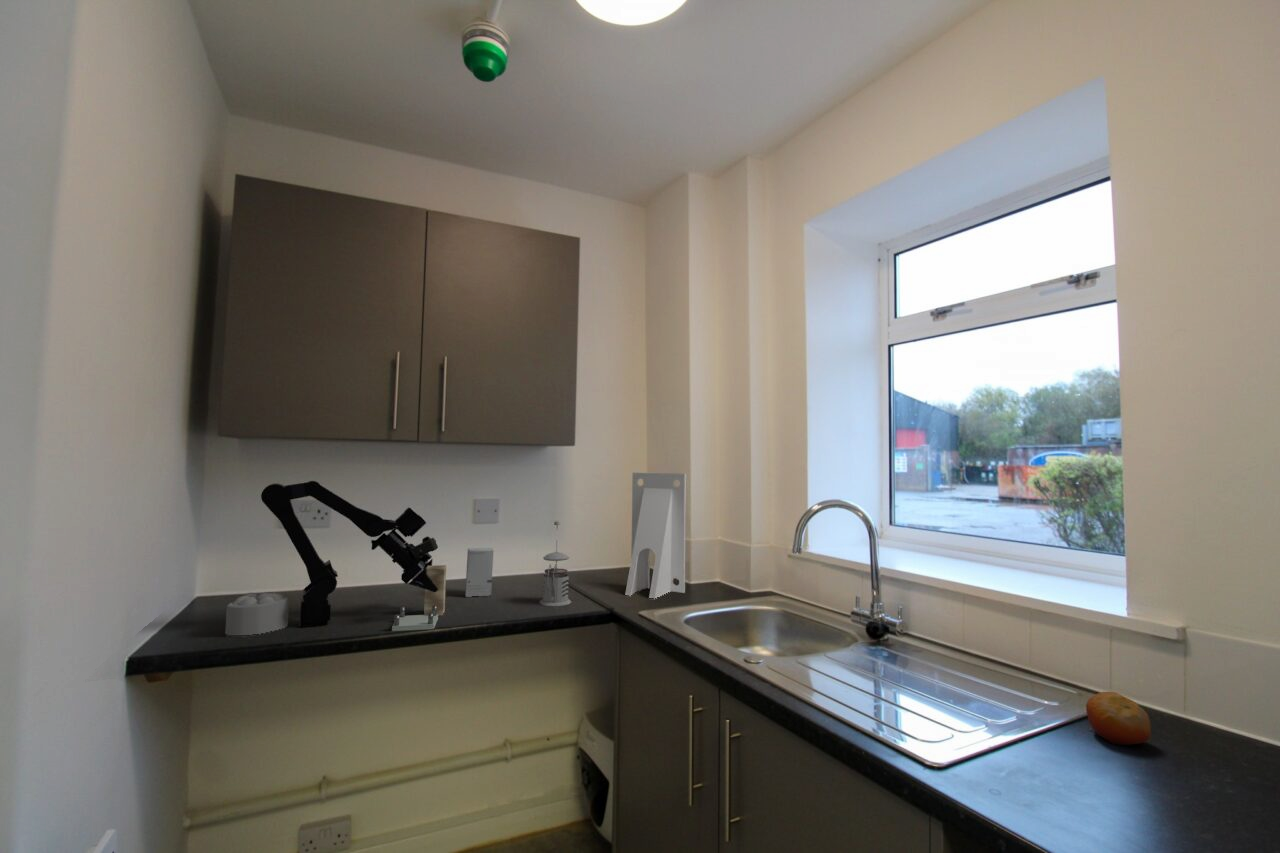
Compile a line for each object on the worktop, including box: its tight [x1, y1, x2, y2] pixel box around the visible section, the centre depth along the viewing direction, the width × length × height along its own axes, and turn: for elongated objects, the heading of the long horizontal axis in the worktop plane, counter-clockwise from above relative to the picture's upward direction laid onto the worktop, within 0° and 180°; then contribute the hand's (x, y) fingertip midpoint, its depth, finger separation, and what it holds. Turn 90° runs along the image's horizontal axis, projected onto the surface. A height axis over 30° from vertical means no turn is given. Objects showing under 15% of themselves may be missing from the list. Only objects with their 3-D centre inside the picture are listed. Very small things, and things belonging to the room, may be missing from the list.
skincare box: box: [464, 547, 495, 598], centre depth 188 cm, size 8×6×15 cm
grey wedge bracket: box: [624, 472, 687, 600], centre depth 194 cm, size 20×14×40 cm
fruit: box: [1085, 691, 1152, 746], centre depth 93 cm, size 8×8×8 cm
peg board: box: [391, 605, 439, 632], centre depth 153 cm, size 10×10×4 cm
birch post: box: [423, 564, 447, 616], centre depth 164 cm, size 5×5×13 cm
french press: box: [539, 520, 572, 607], centre depth 179 cm, size 10×12×25 cm
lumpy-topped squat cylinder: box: [224, 591, 290, 636], centre depth 147 cm, size 10×13×9 cm
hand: (438, 587), depth 165 cm, fingers open, 9 cm apart
